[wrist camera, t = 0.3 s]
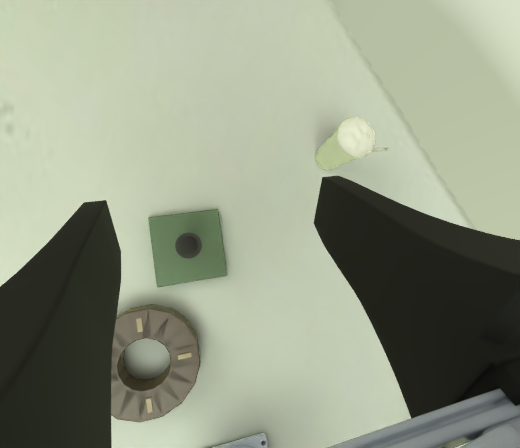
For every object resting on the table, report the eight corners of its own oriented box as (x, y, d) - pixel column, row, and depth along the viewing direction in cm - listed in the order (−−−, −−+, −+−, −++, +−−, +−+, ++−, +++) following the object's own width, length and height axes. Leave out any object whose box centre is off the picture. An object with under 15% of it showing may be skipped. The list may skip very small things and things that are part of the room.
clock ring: (204, 393, 37) (206, 406, 34) (100, 419, 34) (91, 436, 31) (191, 297, 38) (192, 300, 35) (88, 315, 35) (79, 321, 32)
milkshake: (334, 185, 43) (376, 165, 34) (304, 159, 43) (338, 131, 33) (352, 161, 44) (398, 134, 35) (323, 135, 44) (362, 101, 34)
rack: (226, 275, 39) (233, 278, 32) (158, 286, 37) (151, 292, 31) (216, 210, 40) (222, 201, 33) (149, 218, 38) (141, 210, 31)
